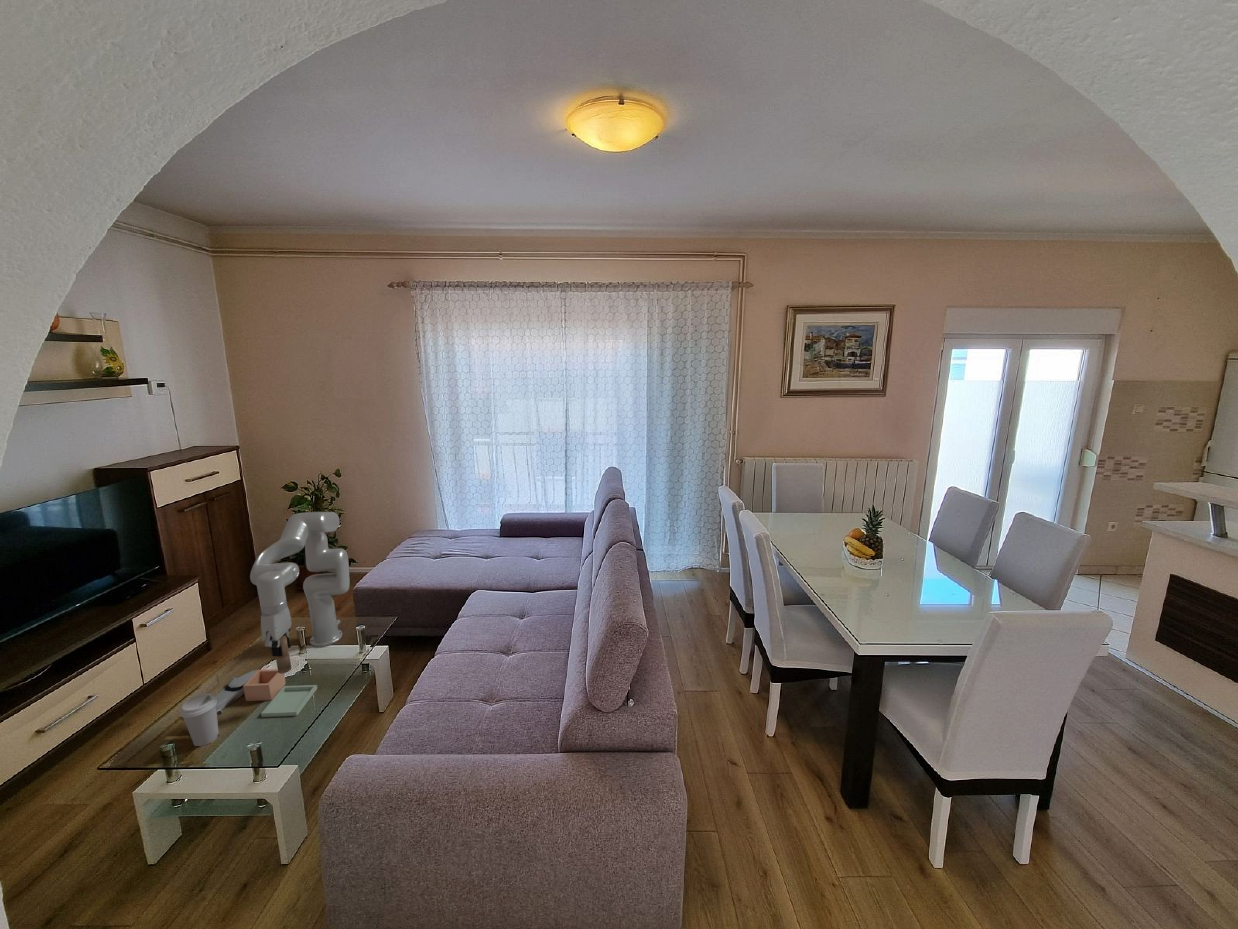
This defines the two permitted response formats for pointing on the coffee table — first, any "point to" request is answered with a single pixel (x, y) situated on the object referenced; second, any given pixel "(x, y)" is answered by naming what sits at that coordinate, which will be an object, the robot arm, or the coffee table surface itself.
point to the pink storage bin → (264, 685)
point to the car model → (232, 691)
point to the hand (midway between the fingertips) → (281, 651)
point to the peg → (283, 657)
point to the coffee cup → (201, 718)
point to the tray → (289, 701)
